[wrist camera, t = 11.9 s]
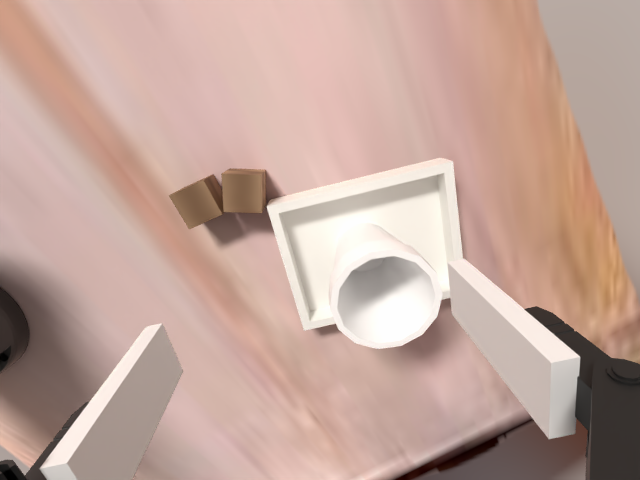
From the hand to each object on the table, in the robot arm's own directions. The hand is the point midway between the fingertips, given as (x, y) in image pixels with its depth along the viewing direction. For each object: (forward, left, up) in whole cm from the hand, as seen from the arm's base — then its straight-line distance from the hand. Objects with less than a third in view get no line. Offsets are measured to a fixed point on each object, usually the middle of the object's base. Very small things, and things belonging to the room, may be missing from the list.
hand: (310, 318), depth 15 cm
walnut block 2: (-6, +3, -26) cm, 26 cm away
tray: (+6, -7, -25) cm, 27 cm away
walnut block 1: (-11, +3, -26) cm, 28 cm away
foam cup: (+5, -7, -25) cm, 26 cm away
